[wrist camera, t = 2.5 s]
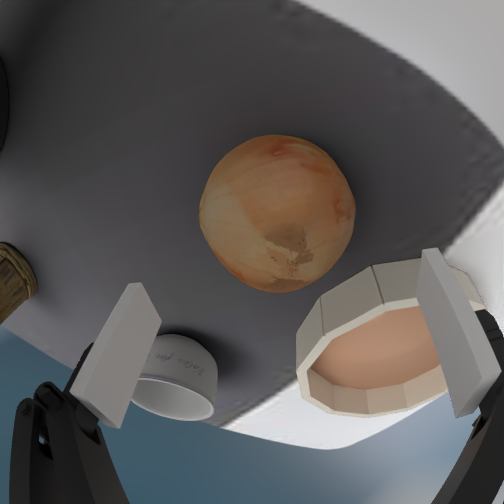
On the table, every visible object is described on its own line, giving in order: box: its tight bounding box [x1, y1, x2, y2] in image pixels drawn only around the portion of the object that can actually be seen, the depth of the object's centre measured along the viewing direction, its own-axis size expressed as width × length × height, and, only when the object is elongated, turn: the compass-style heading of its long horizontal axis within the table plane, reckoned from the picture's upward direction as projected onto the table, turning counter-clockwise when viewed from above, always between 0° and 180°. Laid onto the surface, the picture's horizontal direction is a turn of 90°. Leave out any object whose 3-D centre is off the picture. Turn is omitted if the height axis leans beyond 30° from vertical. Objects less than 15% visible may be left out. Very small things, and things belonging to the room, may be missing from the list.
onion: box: [199, 134, 356, 293], centre depth 19 cm, size 10×10×10 cm
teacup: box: [131, 334, 218, 421], centre depth 34 cm, size 14×11×8 cm
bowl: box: [296, 258, 487, 418], centre depth 30 cm, size 22×22×5 cm
